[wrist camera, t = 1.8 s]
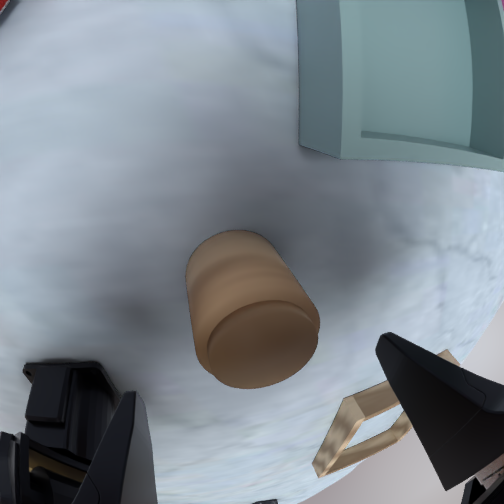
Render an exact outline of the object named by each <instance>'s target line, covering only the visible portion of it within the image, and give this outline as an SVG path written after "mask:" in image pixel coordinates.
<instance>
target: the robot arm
mask: <svg viewBox="0 0 504 504" xmlns="http://www.w3.org/2000/svg"><path fill="white" fill-rule="evenodd" d="M375 352H376V355H377V357H378V360H379V362H380V364H381V366H382V369H383V371H384V373H385V375H386V378H387V380H388V382H389V384H390V386H391V388H392V390H393V391H394V393H395V395H396V397H397V399H398V400H399V402H400V404H401V406H402V408H403V409H404V411H405V413H406V415H407V417H408V419H409V420H410V422H411V424H412V426H413V428H414V430H415V431H416V433H417V435H418V437H419V439H420V441H421V443H422V445H423V446H424V449H425V451H426V453H427V455H428V457H429V459H430V461H431V463H432V464H433V467H434V469H435V471H436V473H437V475H438V476H439V479H440V481H441V483H442V485H443V487H444V489H445V491H447V490H449V489H451V488H453V487H454V486H456V485H458V484H460V483H461V482H463V481H465V480H466V479H468V478H469V477H471V476H473V475H475V476H474V477H473V478H471V479H470V480H469V481H468V482H467V483H466V484H465V489H464V494H463V498H462V502H461V504H504V385H502V384H499V383H496V382H494V381H491V380H488V379H486V378H483V377H481V376H478V375H476V374H474V373H472V372H470V371H467V370H465V369H464V368H461V367H459V366H457V365H455V364H453V363H451V362H449V361H447V360H445V359H443V358H441V357H439V356H437V355H435V354H433V353H431V352H429V351H427V350H425V349H424V348H422V347H420V346H418V345H416V344H414V343H412V342H410V341H408V340H406V339H404V338H402V337H400V336H398V335H396V334H394V333H392V332H387V333H384V334H382V335H381V336H380V338H379V341H378V343H377V346H376V349H375ZM23 373H24V375H25V376H26V377H27V378H28V380H29V381H30V382H31V384H32V387H31V391H30V395H29V400H28V404H27V408H26V413H25V418H26V419H27V422H26V428H25V434H24V433H22V432H19V433H17V434H16V435H15V436H14V435H13V434H9V433H5V432H2V431H1V432H0V504H158V502H157V494H156V485H155V475H154V464H153V451H152V443H151V438H150V432H149V426H148V420H147V414H146V408H145V404H144V402H143V400H142V399H141V397H140V395H139V393H138V392H137V391H126V392H125V393H124V394H123V396H122V398H121V397H120V395H119V394H118V392H117V390H116V389H115V387H114V386H113V384H112V382H111V381H110V379H109V377H108V376H107V374H106V372H105V371H104V369H103V367H102V366H101V365H100V364H98V363H95V362H89V363H70V364H26V365H24V367H23ZM29 467H30V468H32V470H31V471H29Z"/></svg>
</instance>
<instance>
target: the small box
mask: <svg viewBox="0 0 504 504" xmlns="http://www.w3.org/2000/svg"><path fill="white" fill-rule="evenodd" d="M253 504H278V502H277V499H275V500H268V501H260V502H256V503H253Z"/></svg>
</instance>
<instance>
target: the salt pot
mask: <svg viewBox="0 0 504 504" xmlns="http://www.w3.org/2000/svg"><path fill="white" fill-rule="evenodd" d="M185 277H186V286H187V294H188V302H189V310H190V317H191V324H192V330H193V337H194V343H195V350H196V355H197V358H198V360H199V362H200V364H201V365H202V366H203V368H204V369H205V370H207V371H208V372H209V373H211V374H212V375H214V376H215V377H216V379H218V380H219V381H220V382H222V383H223V384H225V385H228V386H230V387H234V388H240V389H255V388H262V387H266V386H270V385H273V384H276V383H279V382H281V381H283V380H285V379H287V378H289V377H290V376H292V375H294V374H295V373H296V372H298V371H299V370H300V369H301V368H303V367H304V366H305V365H306V364H307V362H308V361H309V360H310V359H311V357H312V356H313V354H314V352H315V350H316V347H317V344H318V332H319V328H320V317H319V314H318V311H317V309H316V307H315V306H314V304H313V303H312V301H311V300H310V298H309V297H308V295H307V294H306V293H305V291H304V290H303V288H302V287H301V285H300V284H299V282H298V281H297V280H296V278H295V277H294V275H293V274H292V272H291V271H290V270H289V268H288V267H287V265H286V264H285V262H284V261H283V260H282V258H281V257H280V255H279V254H278V252H277V251H276V250H275V248H274V247H273V246H272V244H271V243H270V242H269V241H268V240H267V239H265V238H264V237H262V236H261V235H259V234H257V233H254V232H251V231H245V230H231V231H225V232H222V233H219V234H216V235H214V236H212V237H210V238H209V239H207V240H205V241H204V242H203V243H202V244H200V245H199V246H198V247H197V249H196V250H195V251H194V252H193V254H192V255H191V257H190V259H189V261H188V264H187V267H186V275H185Z"/></svg>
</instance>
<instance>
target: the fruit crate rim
mask: <svg viewBox="0 0 504 504" xmlns="http://www.w3.org/2000/svg"><path fill="white" fill-rule="evenodd" d="M437 356H439V357H441V358H443V359H445V360H447V361H449V362H451V363H453V364H455V365H457V366H460V363H459V362H458V361H457V360H456V359H455V358H454V357H453V356H452V354H451V353H450V352H449V351H448V350H445V351H443V352H442V353H440V354H438V355H437ZM399 404H400V402H399V400H398V399H397V397H396V395H395V393H394V391H393V390H392V388H391V386H390V384H389V382H388V380H387V381H385V382H383V383H381V384H378V385H376V386H374V387H371V388H369V389H367V390H364V391H362V392H359V393H357V394H354V395H352V396H349V397H347V398H344V399H343V401H342V404H341V406H340V408H339V410H338V413H337V415H336V417H335V419H334V421H333V423H332V426H331V428H330V430H329V432H328V434H327V436H326V438H325V440H324V442H323V444H322V446H321V448H320V450H319V451H318V453H317V455H316V457H315V459H314V461H313V463H312V465H313V467H314V469H315V472H316V474H317V476H318V478H320V477H323V476H325V475H328V474H331V473H333V472H336V471H338V470H341V469H343V468H345V467H348V466H350V465H352V464H355V463H357V462H359V461H361V460H363V459H366V458H368V457H370V456H372V455H374V454H376V453H378V452H380V451H382V450H383V449H386V448H387V447H389V446H391V445H393V444H395V443H397V442H398V441H400V440H401V439H402V438H403V437H404V436H405V435H406V434H407V433H408V431H409V430H410V429H411V428H412V427H413V426H412V424H411V422H410V420H409V419H408V417H407V415H406V413H405V411H403V413H402V414H401V415H400V417H399V418H398V419H397V421H396V422H395V423H394V424H393V426H392V427H391V428H390V429H389V430H387V431H385V432H383V433H381V434H379V435H377V436H375V437H372V438H370V439H368V440H366V441H364V442H362V443H360V444H357V445H355V446H353V447H350V448H348V449H346V450H344V449H345V448H346V446H347V445H348V443H349V442H350V440H351V439H352V437H353V436H354V434H355V433H356V431H357V430H358V428H359V427H360V425H361V424H362V422H363V421H366V420H368V419H370V418H372V417H374V416H377V415H379V414H381V413H383V412H385V411H387V410H389V409H391V408H393V407H395V406H397V405H399Z"/></svg>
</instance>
